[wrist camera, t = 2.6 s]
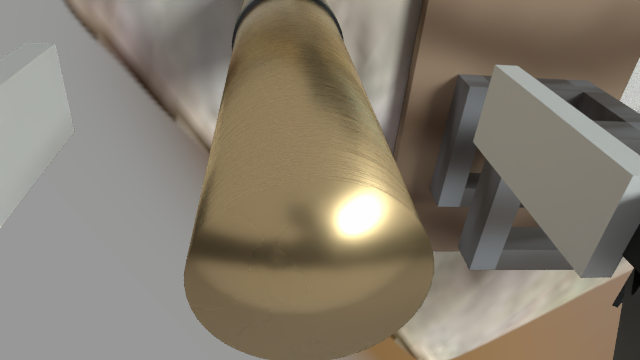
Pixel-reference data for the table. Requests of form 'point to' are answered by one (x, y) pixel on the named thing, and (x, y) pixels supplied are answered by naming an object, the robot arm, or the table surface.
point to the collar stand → (467, 103)
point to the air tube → (302, 200)
